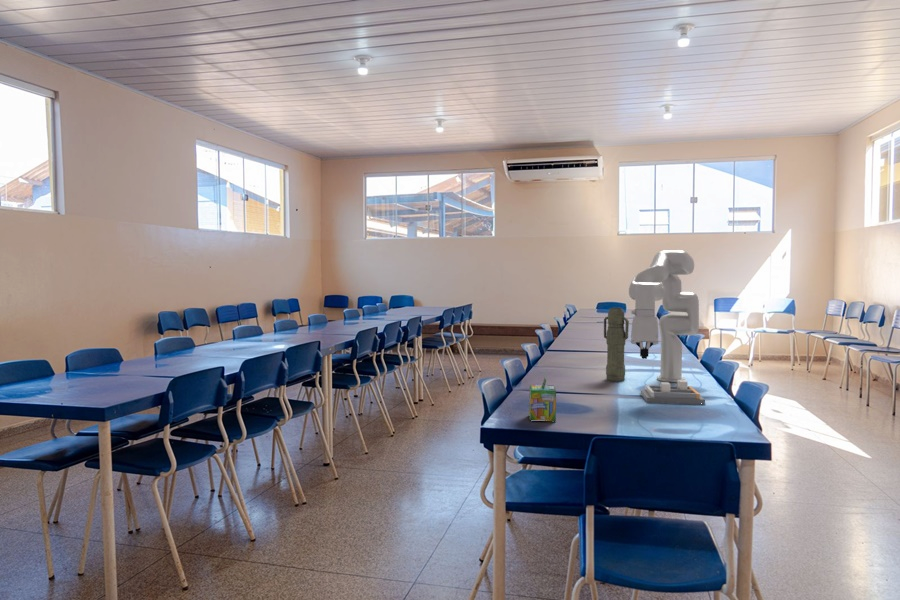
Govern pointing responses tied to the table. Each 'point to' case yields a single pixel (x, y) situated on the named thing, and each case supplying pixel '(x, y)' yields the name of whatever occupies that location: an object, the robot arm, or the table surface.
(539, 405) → the chalk box
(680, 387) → the tab
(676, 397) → the switch board
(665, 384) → the tab
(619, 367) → the thermos
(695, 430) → the table surface
